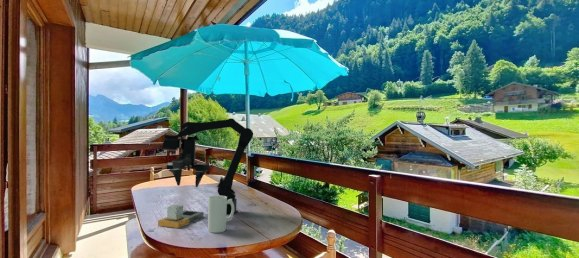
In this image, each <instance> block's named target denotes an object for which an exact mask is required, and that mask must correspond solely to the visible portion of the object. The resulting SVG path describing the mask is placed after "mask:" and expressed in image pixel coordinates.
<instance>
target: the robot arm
mask: <svg viewBox="0 0 579 258" xmlns="http://www.w3.org/2000/svg"><path fill="white" fill-rule="evenodd" d="M227 128H230V129H232V130H233V131H234V132H236V133H238V135H239V138H238V142H237V146H236V149H235V152H234V153H233V157H232V159H231V160H230V164H229V166H228V168H227V170H226V174H225V175H224V177H223V176H220V177H219V182H218V183H217V185H216V188H217V193H218V196H226V197H227V200H229V199H232V201H233V204H234V214H235V213H238V212H239V210H238V209H237V203H238V202H237V201H238V200H237V198H236V192H235V190H234V189H232V188H233V182H234V178H235V175H236V172H237V170H238V167H239V165H240V163H241V160H242V157H243V155H244V153H245V151H246V149H247V147H248V145H249V144H250V142H251V141H252V139H253V137H254V132H253V130H252V129H251V128H249V127H244V126H243V125H241V123H239V122H237V121H236V120H235V119H234V118H228V119H220V120H214V121H205V122H197V121H186V122H184V123H183V124H182V125H181V129H180V131H179V132H178V133H177V134H176V135H172V134H164V138H163V142H162V149H163V151H179V149H181V152H180V153H179V154H178V156H179V157H176V158H175V159H173V160H172V161H171V162H167V163H166V166H165V169H166V170H168V171H169V172H171V174H172V175H173V177H174V180H175V183H176V185H177V186H178V187H180V185H181V182H182V181H181V180H182V172H183V169H190V170H195V171H194V174H195V182H194V183H195V188H198V187H199V185H200V183H201V181H202V178H203V177H204V175H205V173H208V171H210V170H211V165H210V164H209V163H201V162H200V163H197V161H196V156H198V153H197V152H196V141H201V138H199V137H198V135H197V134H199V133H202V132H206V131H211V130H219V129H227ZM192 135H193V136H192ZM185 137H186V138H185ZM231 210H232V207H231V205H230V204H227V210H226V215H230V214H231Z"/></svg>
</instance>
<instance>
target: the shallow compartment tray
mask: <svg viewBox="0 0 579 258" xmlns="http://www.w3.org/2000/svg"><path fill="white" fill-rule="evenodd" d="M204 216H205V215H204V211H195V210H186V209H185V210H183V219H181V220H179V221H168V220H167V216H166V217H164V218H161V219H158V220H157V226H158V227H165V228H172V227H173V228H175V229H181V228H182V227H185V226H186V225H189V224H192V223H194V222H195V221H198V220H200V219H202V218H204Z"/></svg>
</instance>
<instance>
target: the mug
mask: <svg viewBox="0 0 579 258" xmlns="http://www.w3.org/2000/svg"><path fill="white" fill-rule="evenodd" d="M207 199H208V200H207V231H208V232H210V233H214V234H215V233H216V234H218V233H223V232H225V231H226V227H227V226H226V225H227V222H231V221H232V219H233V216H234V214H235V213H234V204H233V201H232V199H229V200H227V197H226V196H220V195H211V196H208V198H207ZM227 204H230V205H231V207H232V210H231V214H229V216H227V214H226V210H227Z"/></svg>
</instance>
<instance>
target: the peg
mask: <svg viewBox="0 0 579 258" xmlns="http://www.w3.org/2000/svg"><path fill="white" fill-rule="evenodd" d="M183 207H184V205H183V204H171V205H169V206H167V207H166V208H167V214H166V217H167V220H168V221H179V220H181V219H183V211H184V208H183Z"/></svg>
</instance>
